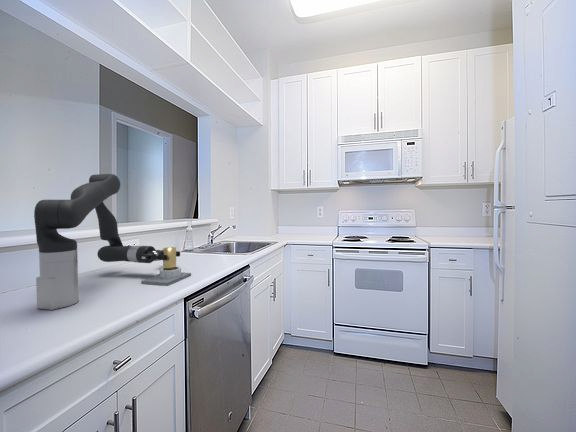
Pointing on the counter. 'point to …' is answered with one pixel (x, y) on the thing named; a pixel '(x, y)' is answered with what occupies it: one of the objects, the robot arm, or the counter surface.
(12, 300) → the counter surface
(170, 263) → the cylinder
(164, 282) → the plate
